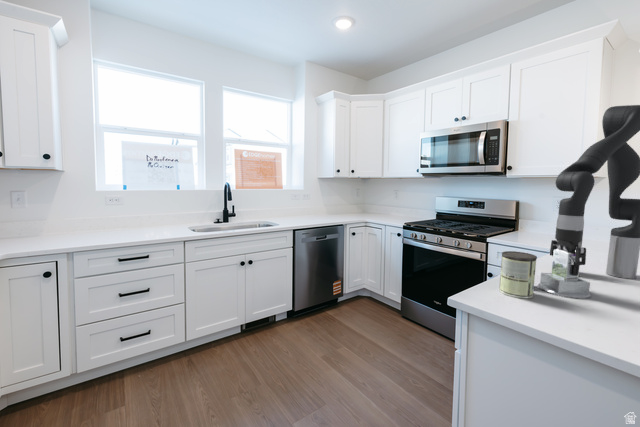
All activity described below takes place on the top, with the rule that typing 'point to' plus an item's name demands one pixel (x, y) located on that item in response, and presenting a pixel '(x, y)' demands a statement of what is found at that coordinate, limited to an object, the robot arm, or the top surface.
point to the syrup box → (562, 266)
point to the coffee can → (517, 274)
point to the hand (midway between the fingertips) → (564, 271)
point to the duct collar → (564, 286)
